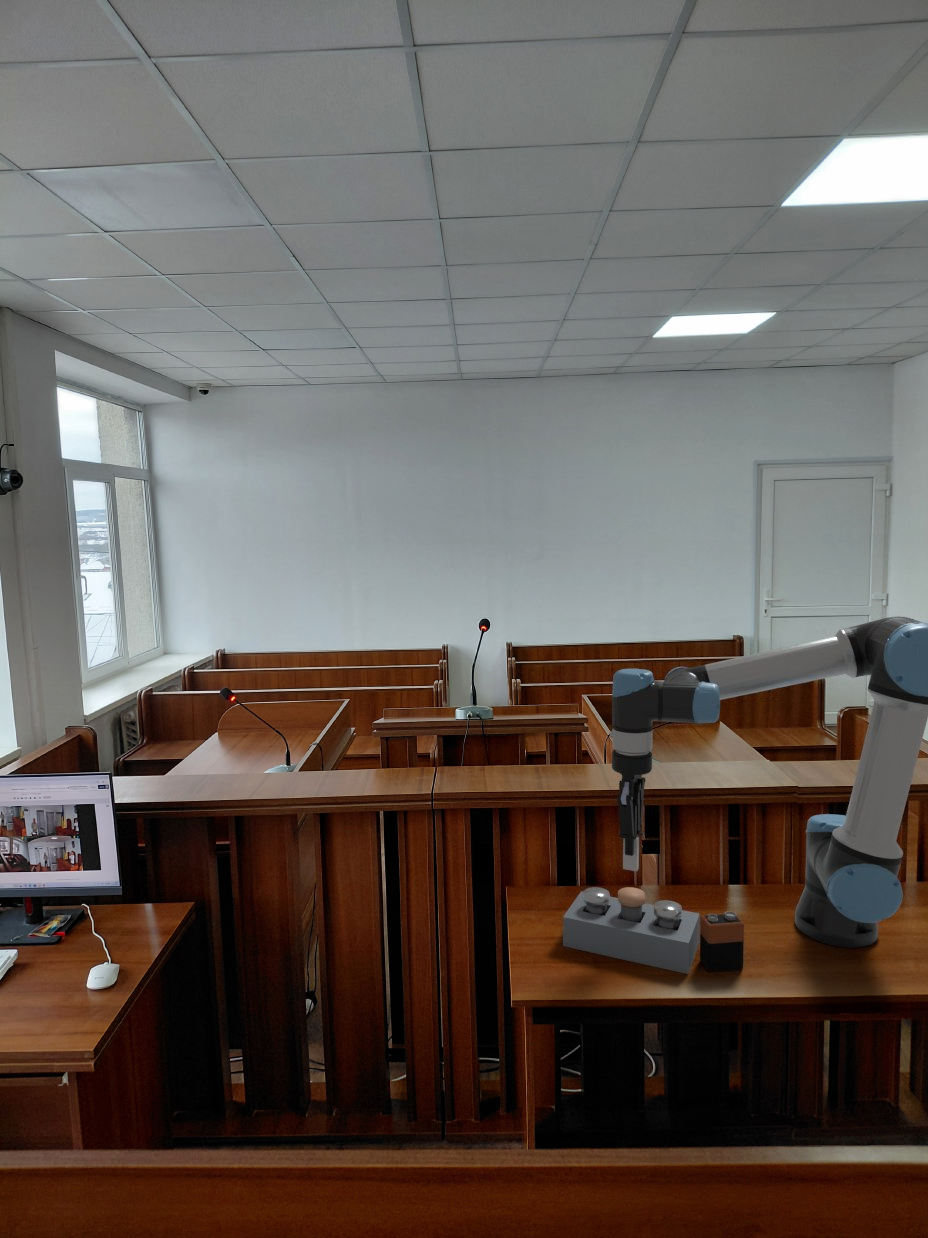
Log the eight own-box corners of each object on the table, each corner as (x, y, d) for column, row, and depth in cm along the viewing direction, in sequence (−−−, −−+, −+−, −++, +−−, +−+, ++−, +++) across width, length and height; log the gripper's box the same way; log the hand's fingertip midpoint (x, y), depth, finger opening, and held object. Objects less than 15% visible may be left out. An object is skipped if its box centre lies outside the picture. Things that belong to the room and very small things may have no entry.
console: (699, 942, 152) (699, 913, 152) (688, 974, 142) (688, 943, 141) (581, 918, 163) (581, 891, 162) (563, 946, 152) (562, 917, 152)
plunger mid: (647, 921, 153) (647, 890, 152) (641, 934, 148) (641, 901, 148) (621, 916, 155) (621, 885, 155) (614, 928, 151) (614, 896, 150)
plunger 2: (683, 935, 150) (684, 903, 149) (678, 948, 146) (679, 915, 145) (656, 930, 152) (657, 898, 152) (650, 942, 148) (651, 910, 147)
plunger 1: (612, 921, 156) (612, 890, 156) (605, 933, 152) (605, 901, 151) (587, 916, 159) (587, 885, 158) (580, 927, 154) (579, 896, 153)
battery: (744, 970, 143) (745, 918, 142) (708, 973, 142) (709, 921, 141) (733, 957, 147) (734, 907, 146) (698, 960, 146) (699, 910, 145)
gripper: (621, 739, 156) (620, 853, 158) (603, 757, 144) (602, 879, 147) (659, 743, 152) (657, 859, 155) (643, 761, 141) (642, 886, 143)
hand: (630, 868), depth 151 cm, fingers closed
